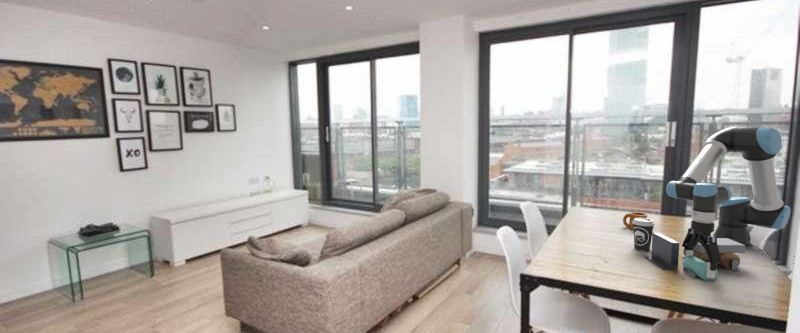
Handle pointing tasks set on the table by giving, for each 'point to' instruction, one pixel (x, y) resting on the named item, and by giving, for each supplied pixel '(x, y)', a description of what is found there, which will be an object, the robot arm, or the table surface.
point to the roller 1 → (699, 255)
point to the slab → (724, 246)
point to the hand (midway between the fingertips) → (699, 271)
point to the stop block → (664, 252)
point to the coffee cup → (642, 233)
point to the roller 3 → (727, 259)
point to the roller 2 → (698, 267)
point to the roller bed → (732, 268)
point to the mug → (632, 216)
